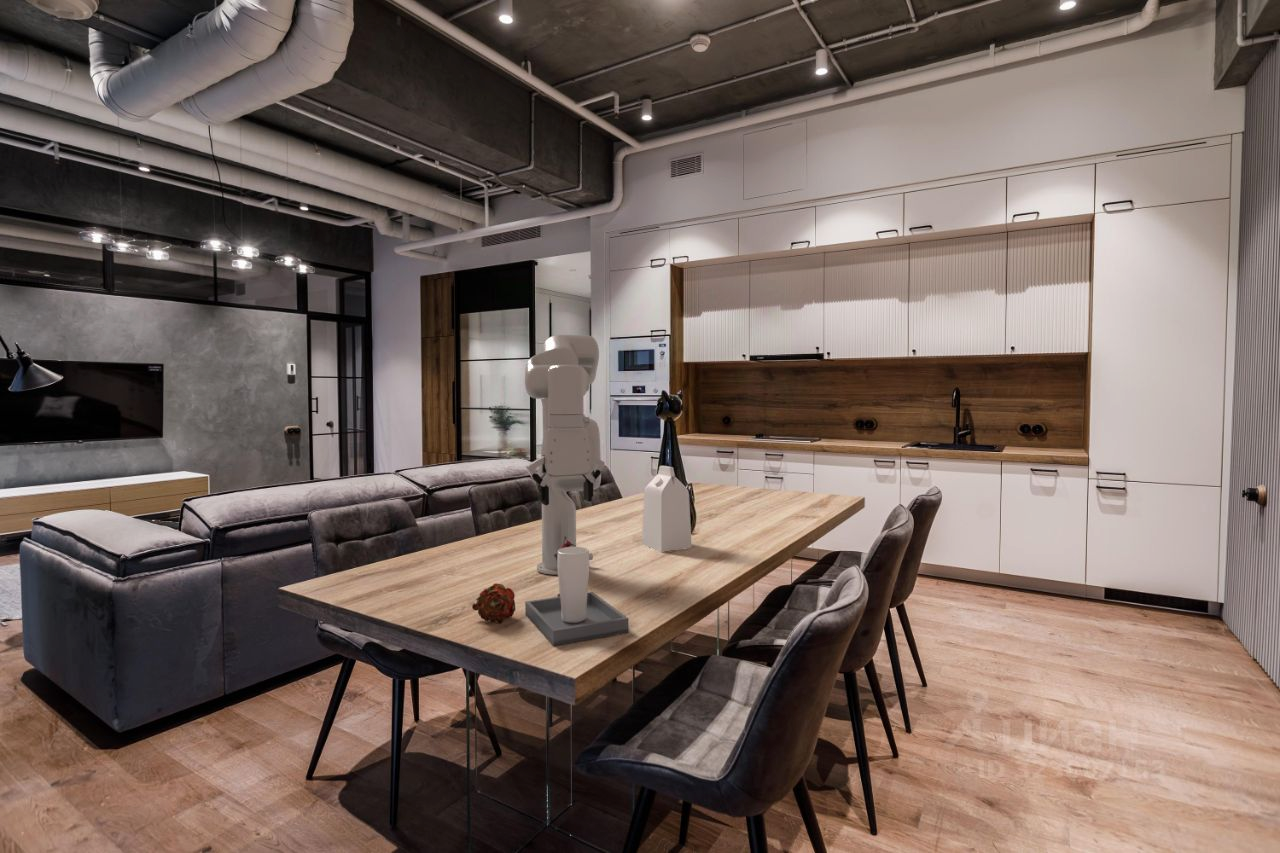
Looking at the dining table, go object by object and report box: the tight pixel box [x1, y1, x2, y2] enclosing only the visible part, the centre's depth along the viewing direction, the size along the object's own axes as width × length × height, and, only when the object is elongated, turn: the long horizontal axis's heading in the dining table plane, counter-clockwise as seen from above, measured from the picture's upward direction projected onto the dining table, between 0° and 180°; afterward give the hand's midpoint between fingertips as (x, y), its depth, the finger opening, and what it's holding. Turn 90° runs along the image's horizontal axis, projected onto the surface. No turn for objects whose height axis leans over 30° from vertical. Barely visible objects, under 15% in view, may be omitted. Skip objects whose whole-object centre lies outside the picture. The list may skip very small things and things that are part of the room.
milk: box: [641, 465, 693, 553], centre depth 207 cm, size 12×12×26 cm
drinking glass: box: [557, 546, 590, 623], centre depth 136 cm, size 7×7×15 cm
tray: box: [524, 591, 630, 647], centre depth 136 cm, size 16×20×3 cm
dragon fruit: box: [471, 582, 516, 624], centre depth 139 cm, size 8×8×12 cm
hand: (566, 502), depth 137 cm, fingers open, 9 cm apart
